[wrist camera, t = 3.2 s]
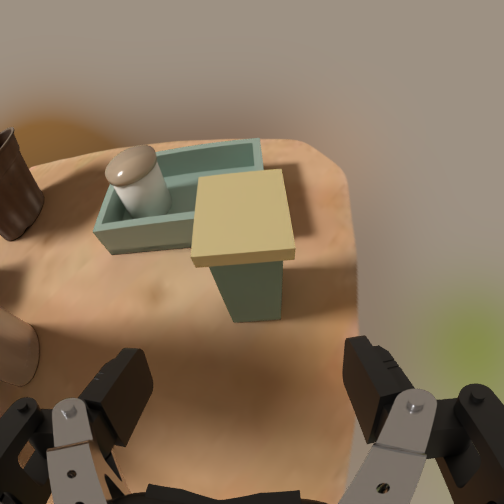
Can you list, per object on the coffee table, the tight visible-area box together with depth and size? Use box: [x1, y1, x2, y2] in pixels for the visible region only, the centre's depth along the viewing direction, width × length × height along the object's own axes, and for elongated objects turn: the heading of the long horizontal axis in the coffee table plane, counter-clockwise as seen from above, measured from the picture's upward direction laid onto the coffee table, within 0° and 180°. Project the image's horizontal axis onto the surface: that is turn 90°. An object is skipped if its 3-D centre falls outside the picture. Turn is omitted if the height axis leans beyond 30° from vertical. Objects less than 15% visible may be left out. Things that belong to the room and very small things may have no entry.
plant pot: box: [0, 127, 44, 241], centre depth 33 cm, size 16×16×16 cm
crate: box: [93, 138, 264, 255], centre depth 33 cm, size 20×13×5 cm, turn 93°
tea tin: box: [191, 169, 295, 323], centre depth 23 cm, size 6×7×13 cm
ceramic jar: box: [105, 145, 172, 219], centre depth 31 cm, size 6×6×8 cm
